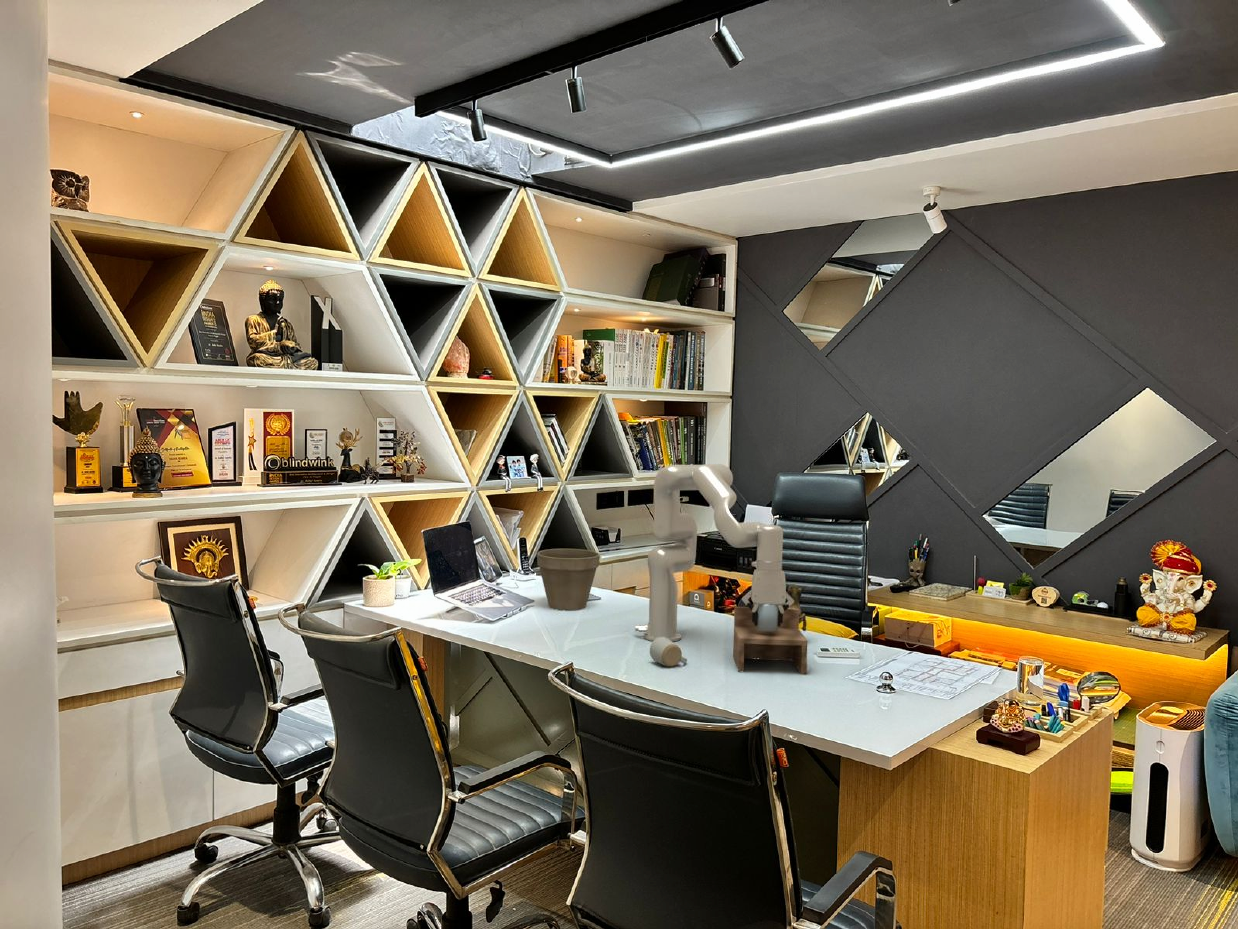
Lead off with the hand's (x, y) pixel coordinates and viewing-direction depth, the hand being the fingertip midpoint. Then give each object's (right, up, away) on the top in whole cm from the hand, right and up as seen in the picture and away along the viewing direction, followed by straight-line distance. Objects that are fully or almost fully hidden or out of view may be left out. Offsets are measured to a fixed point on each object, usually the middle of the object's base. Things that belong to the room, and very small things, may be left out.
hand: (767, 624), depth 274 cm
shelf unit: (+1, -13, +1) cm, 13 cm away
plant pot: (-65, -8, +84) cm, 106 cm away
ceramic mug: (-30, -12, +1) cm, 32 cm away
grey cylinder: (0, -1, 0) cm, 1 cm away
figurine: (+9, -12, +31) cm, 34 cm away
